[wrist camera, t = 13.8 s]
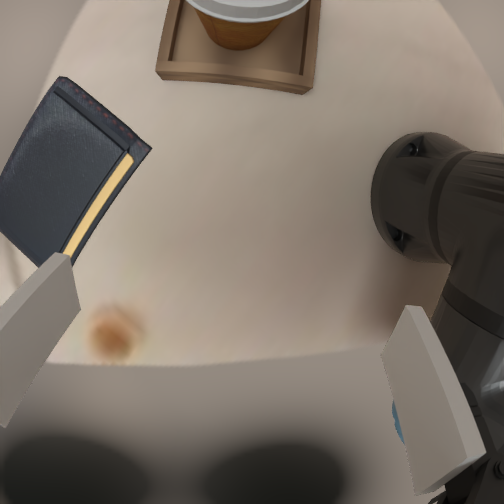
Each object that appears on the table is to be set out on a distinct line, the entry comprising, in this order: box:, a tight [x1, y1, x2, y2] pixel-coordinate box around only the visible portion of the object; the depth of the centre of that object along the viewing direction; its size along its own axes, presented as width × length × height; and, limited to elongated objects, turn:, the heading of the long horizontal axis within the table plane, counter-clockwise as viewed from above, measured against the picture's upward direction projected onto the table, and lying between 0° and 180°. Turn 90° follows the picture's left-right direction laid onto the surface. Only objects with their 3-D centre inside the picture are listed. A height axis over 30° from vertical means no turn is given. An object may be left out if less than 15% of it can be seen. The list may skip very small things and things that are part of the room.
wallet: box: [0, 76, 152, 268], centre depth 28 cm, size 20×2×15 cm
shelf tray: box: [155, 0, 321, 95], centre depth 24 cm, size 14×13×4 cm
